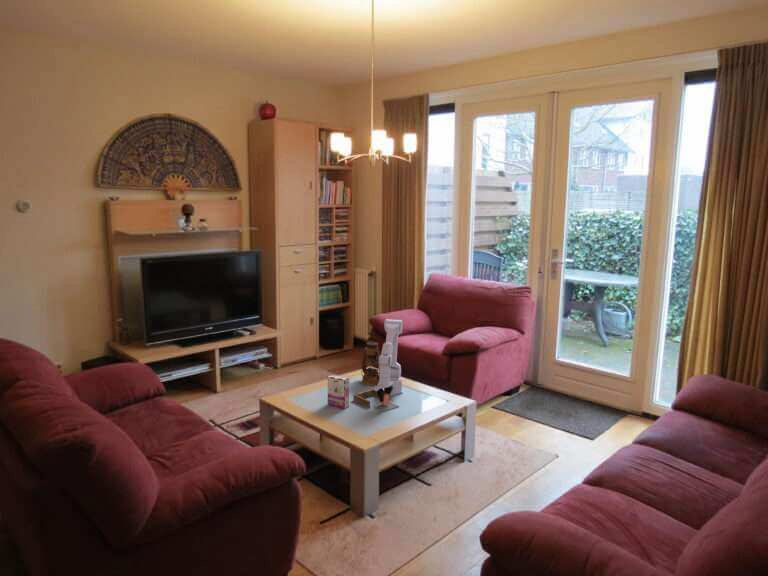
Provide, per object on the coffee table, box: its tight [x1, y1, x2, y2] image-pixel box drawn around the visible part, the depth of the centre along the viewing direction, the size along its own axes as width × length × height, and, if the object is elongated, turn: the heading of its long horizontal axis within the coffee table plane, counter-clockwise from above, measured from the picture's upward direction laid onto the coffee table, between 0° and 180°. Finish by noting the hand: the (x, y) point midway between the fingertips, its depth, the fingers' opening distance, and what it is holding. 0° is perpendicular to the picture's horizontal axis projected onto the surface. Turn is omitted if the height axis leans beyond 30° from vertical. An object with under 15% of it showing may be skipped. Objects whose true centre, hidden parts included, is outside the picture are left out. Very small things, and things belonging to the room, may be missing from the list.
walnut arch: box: [352, 388, 391, 409], centre depth 304 cm, size 16×13×4 cm
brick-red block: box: [378, 393, 390, 405], centre depth 296 cm, size 4×4×5 cm
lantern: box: [360, 334, 381, 387], centre depth 332 cm, size 17×13×30 cm
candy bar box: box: [327, 374, 350, 410], centre depth 294 cm, size 11×5×16 cm, turn 62°
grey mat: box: [372, 401, 400, 413], centre depth 295 cm, size 12×8×1 cm, turn 132°
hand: (384, 400), depth 296 cm, fingers closed on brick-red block, 4 cm apart
